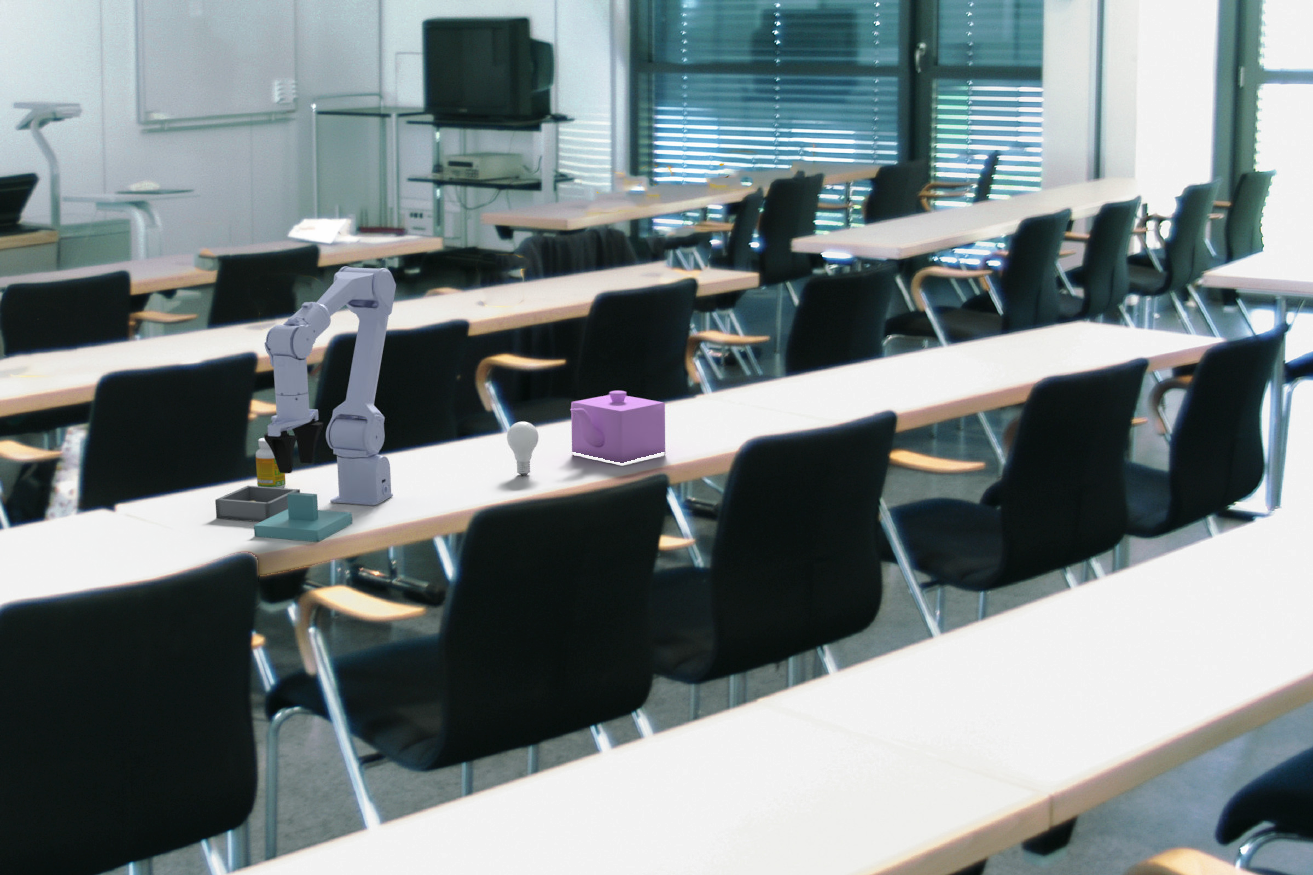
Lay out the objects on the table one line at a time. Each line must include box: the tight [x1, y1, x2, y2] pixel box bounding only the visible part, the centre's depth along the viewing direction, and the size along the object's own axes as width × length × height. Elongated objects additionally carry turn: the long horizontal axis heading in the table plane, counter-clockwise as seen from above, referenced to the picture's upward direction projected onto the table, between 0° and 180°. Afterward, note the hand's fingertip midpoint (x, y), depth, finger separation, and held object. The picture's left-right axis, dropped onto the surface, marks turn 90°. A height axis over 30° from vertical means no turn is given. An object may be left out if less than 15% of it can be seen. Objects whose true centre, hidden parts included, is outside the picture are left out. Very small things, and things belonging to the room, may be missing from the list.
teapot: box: [569, 390, 666, 463], centre depth 331 cm, size 15×25×14 cm, turn 136°
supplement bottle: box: [255, 437, 286, 488], centre depth 306 cm, size 5×5×10 cm
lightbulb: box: [506, 421, 539, 476], centre depth 315 cm, size 6×6×11 cm
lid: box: [253, 492, 353, 542], centre depth 276 cm, size 12×12×6 cm
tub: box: [215, 485, 301, 523], centre depth 288 cm, size 11×11×4 cm
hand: (296, 467), depth 279 cm, fingers open, 7 cm apart
